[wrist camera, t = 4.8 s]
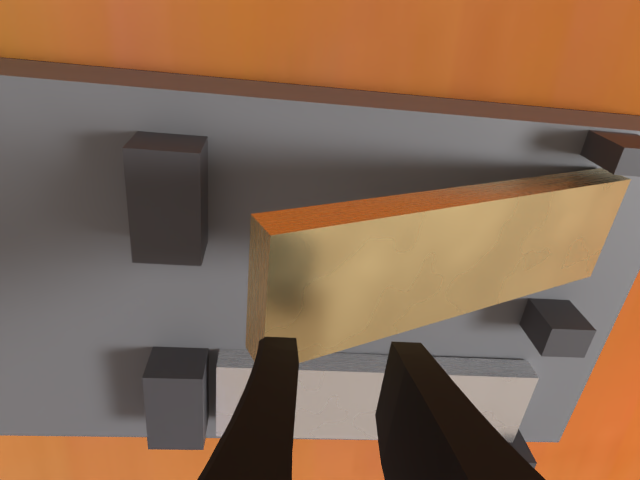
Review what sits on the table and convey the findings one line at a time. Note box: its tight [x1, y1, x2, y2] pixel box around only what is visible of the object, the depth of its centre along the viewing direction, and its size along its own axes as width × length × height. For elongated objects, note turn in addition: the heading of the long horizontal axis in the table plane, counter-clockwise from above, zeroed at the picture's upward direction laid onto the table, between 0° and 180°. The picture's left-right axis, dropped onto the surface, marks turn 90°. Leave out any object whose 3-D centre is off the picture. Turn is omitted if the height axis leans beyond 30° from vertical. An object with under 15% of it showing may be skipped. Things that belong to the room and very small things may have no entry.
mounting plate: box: [0, 58, 640, 468], centre depth 18 cm, size 14×24×4 cm, turn 84°
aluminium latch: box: [216, 349, 539, 442], centre depth 19 cm, size 12×4×1 cm, turn 84°
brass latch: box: [245, 168, 631, 363], centre depth 13 cm, size 12×4×1 cm, turn 83°
